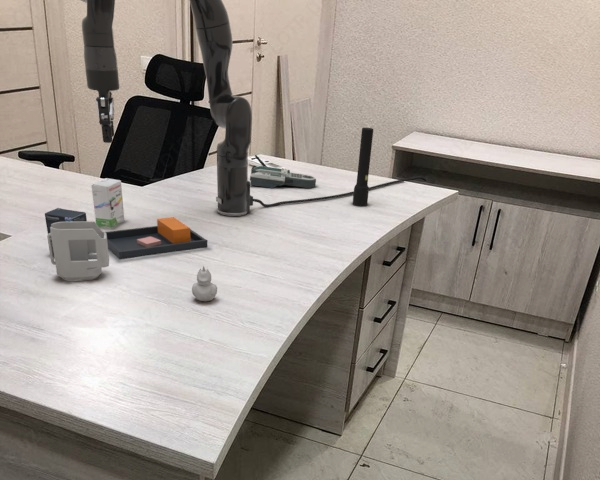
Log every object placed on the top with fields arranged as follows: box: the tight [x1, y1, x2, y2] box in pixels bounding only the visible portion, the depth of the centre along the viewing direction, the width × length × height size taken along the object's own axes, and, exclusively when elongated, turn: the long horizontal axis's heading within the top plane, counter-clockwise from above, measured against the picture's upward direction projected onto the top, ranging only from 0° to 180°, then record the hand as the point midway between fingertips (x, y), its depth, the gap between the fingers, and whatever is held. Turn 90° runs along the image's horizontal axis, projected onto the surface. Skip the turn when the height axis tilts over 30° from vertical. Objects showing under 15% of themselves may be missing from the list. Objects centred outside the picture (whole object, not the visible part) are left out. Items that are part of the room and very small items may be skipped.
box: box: [44, 207, 88, 257], centre depth 152 cm, size 8×6×11 cm
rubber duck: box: [191, 265, 218, 302], centre depth 135 cm, size 5×7×8 cm
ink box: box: [90, 177, 126, 228], centre depth 175 cm, size 8×5×12 cm, turn 167°
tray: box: [98, 225, 208, 260], centre depth 164 cm, size 24×17×2 cm
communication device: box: [249, 154, 317, 189], centre depth 226 cm, size 12×24×9 cm, turn 89°
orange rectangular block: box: [156, 216, 191, 244], centre depth 166 cm, size 5×11×5 cm, turn 33°
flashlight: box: [352, 127, 374, 207], centre depth 205 cm, size 5×24×5 cm
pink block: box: [137, 236, 161, 247], centre depth 164 cm, size 4×4×1 cm
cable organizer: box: [46, 220, 110, 281], centre depth 140 cm, size 7×12×12 cm, turn 103°
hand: (109, 139), depth 159 cm, fingers open, 8 cm apart
